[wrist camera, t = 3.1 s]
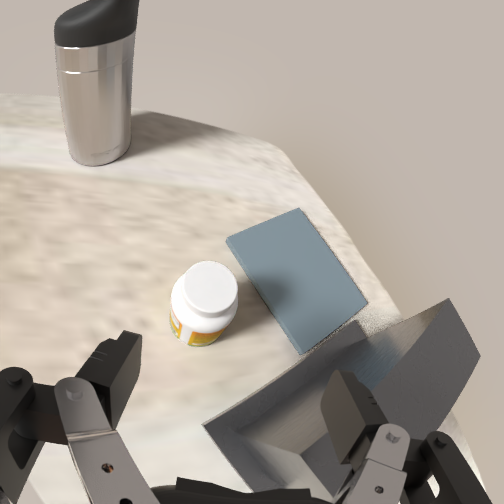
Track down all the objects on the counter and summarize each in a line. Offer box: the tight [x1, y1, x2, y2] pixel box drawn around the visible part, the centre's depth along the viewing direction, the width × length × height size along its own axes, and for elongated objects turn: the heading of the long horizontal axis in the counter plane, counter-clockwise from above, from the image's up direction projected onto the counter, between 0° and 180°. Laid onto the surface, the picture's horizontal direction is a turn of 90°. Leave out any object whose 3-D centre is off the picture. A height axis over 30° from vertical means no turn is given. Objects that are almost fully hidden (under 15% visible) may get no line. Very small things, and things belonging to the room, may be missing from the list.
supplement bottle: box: [170, 261, 238, 347], centre depth 25 cm, size 5×5×10 cm
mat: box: [226, 208, 367, 355], centre depth 34 cm, size 15×11×1 cm
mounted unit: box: [201, 298, 480, 502], centre depth 21 cm, size 10×20×16 cm, turn 124°
